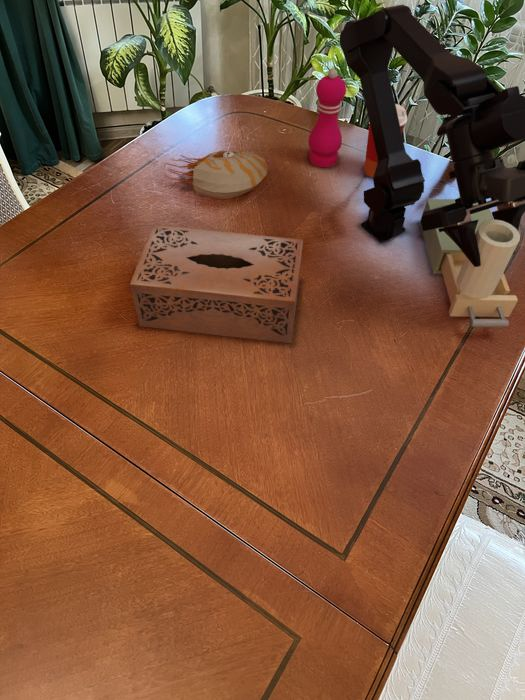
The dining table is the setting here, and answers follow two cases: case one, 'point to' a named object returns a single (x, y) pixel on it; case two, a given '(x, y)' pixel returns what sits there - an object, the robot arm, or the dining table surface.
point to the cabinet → (441, 241)
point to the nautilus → (224, 173)
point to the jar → (488, 258)
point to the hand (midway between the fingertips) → (494, 260)
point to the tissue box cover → (218, 283)
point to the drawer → (474, 307)
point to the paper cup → (371, 153)
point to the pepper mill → (327, 121)
